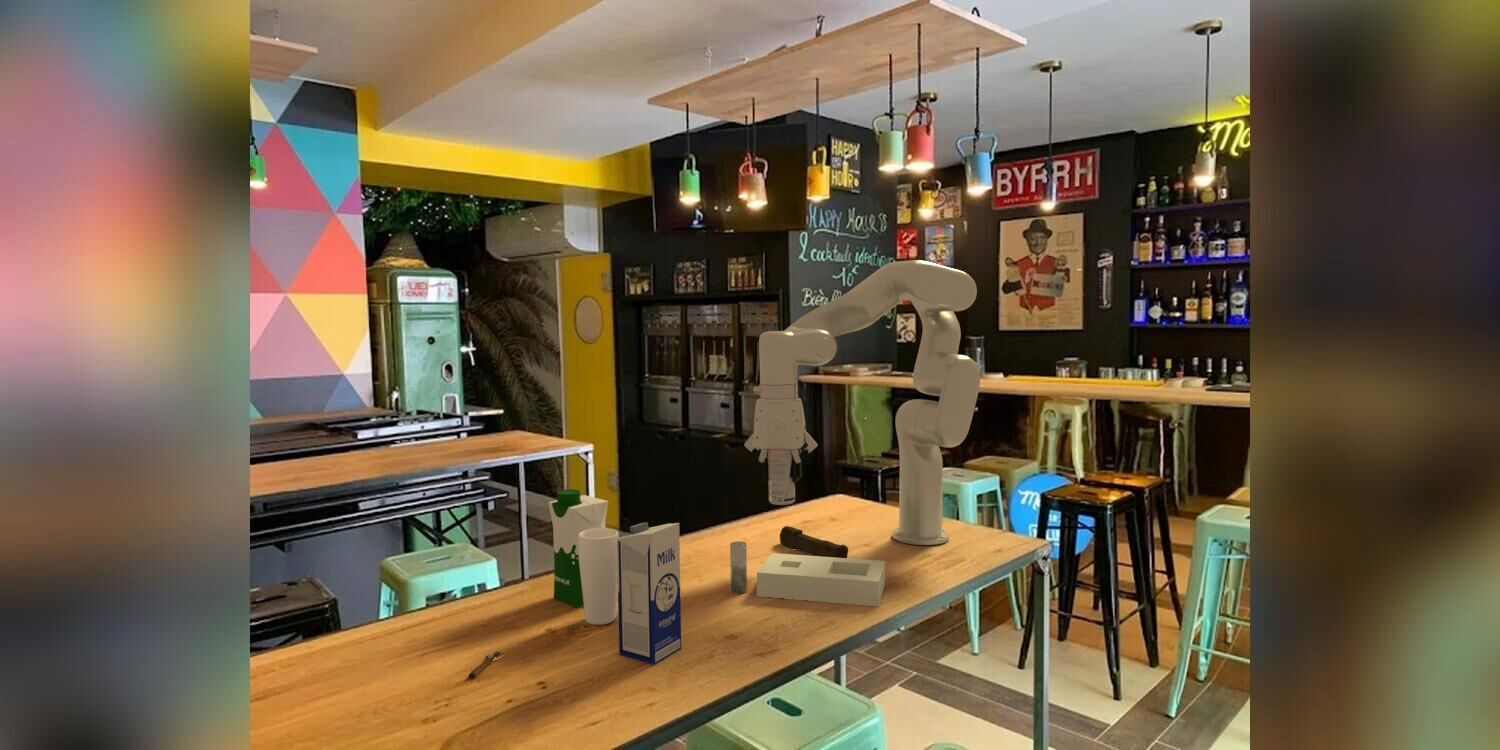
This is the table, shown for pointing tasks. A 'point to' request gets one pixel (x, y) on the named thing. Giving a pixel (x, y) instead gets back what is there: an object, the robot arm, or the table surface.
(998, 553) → the table surface
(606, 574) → the drinking glass
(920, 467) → the robot arm
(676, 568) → the milk carton
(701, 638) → the table surface
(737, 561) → the grey metal peg
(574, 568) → the soya milk
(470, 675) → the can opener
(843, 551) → the hand tool
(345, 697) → the table surface
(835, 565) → the socket block
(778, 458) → the energy drink
